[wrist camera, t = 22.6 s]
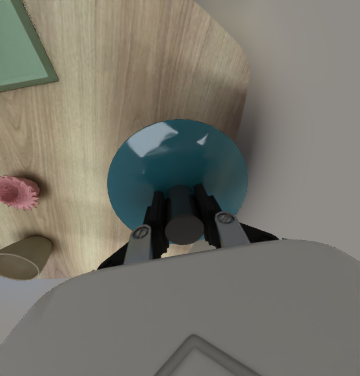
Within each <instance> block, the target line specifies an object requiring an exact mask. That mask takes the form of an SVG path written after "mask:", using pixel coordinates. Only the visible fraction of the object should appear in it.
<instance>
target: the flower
mask: <svg viewBox="0 0 360 376" xmlns="http://www.w3.org/2000/svg"><path fill="white" fill-rule="evenodd" d="M39 190H40V189H39V187H38V185H37V183H35V182H32V180H28V179H26V178H16V177H10V176H6V175H4V177H1V176H0V202H3V203H4V204H7V205H8V207H9V206H14V207H15V208H16V209H17V207H19V208H21V209H23V210H24V211H25V209H24V207H25V208H28V209H30V210H32V209H31V208H30V206H33V207H36V206H35V205H34V204H36V203H37V204H39V203H38V202H37V201H36V200H37V199H39V197H38V195H39V194H38V193H39ZM36 208H37V207H36Z"/></svg>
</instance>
